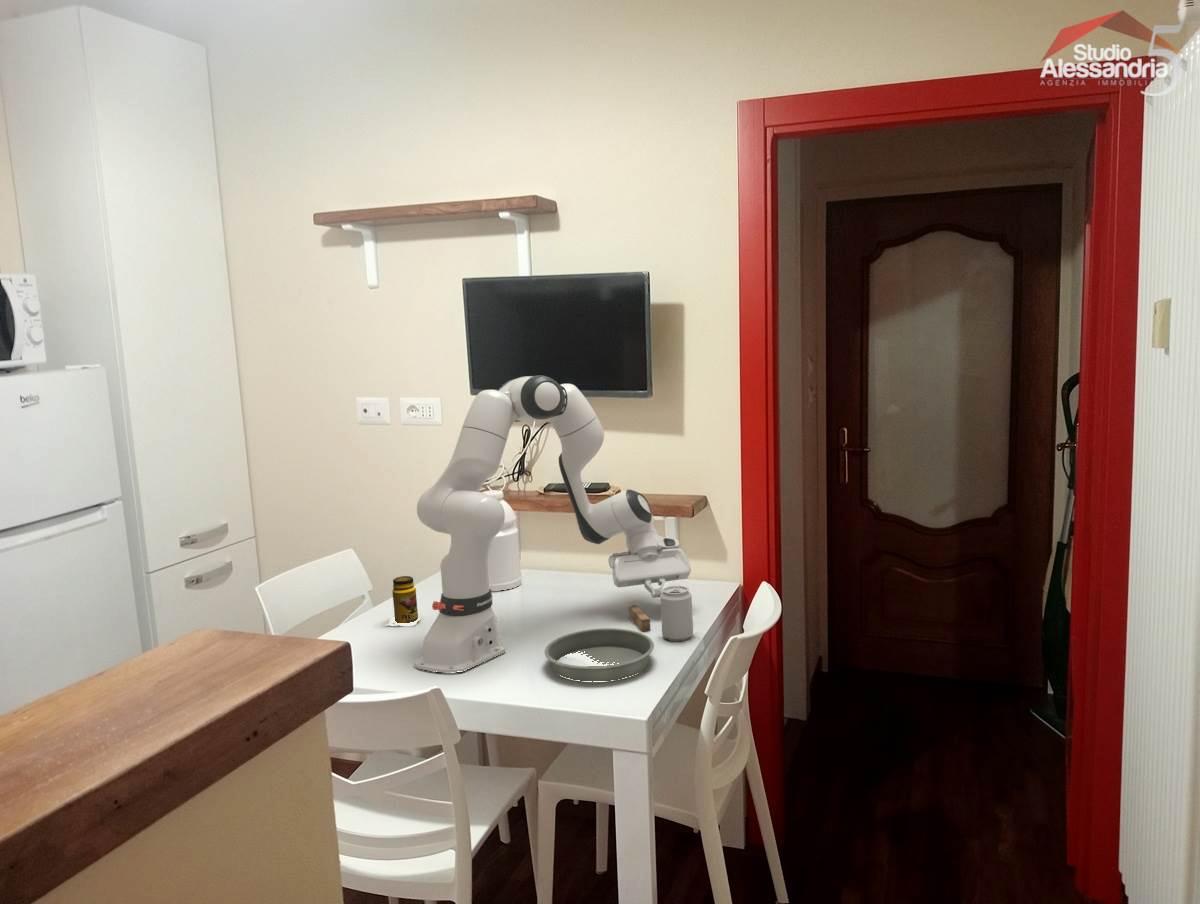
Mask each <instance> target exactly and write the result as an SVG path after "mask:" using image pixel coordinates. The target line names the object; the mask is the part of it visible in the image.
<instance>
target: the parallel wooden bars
mask: <svg viewBox="0 0 1200 904" xmlns="http://www.w3.org/2000/svg"><path fill="white" fill-rule="evenodd" d="M628 616H629V619H630V620H631V621H632V622H633V623H634V624H635V626H637V628H638V629H639V630H641V633H642V632H643V633H645V632H651V631H652V630H651V618H650V617H648V615H647V614H645V613H644V612H643V611H642V609H641V608H639V606H638V605H636V604H634V605H628ZM692 619H693V617H692Z"/></svg>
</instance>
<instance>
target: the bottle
mask: <svg viewBox="0 0 1200 904" xmlns="http://www.w3.org/2000/svg"><path fill="white" fill-rule="evenodd" d="M481 492H482V493H485V494H487V495H489V496H491V497H493V498H495V499H497V500H498V501H499V502H500V503H501V504H502V506H503V508H504V512H505V520H504V524H503V527H502V529H501V530H500V532H499V533H498V534H497V535H496V536H495V537H494V538H493V540H492V543H491V546H490V550H489V555H488V575H489V588H490V589H491V592H502V591H501V590H504V591H508V590H507V589H509V590H511V589H512V588H513V589H515V588H518V587H519V586H520V585H522V570H521V557H520V556H521V555H520V553H521V552H520V540H519V528H518V527H516V526H515V525H514V522H515V521H516V520H517V516H516V513H515V510H514V509H513V508H512V507H511V505H510V504H509V503H508V502H507V501H506V500H505V499H503V498H504V491H502V490H499V489H498V490H497V489H493V490H489V489H488V490H484V491H481ZM517 586H518V587H517ZM513 589H512V590H513Z"/></svg>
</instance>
